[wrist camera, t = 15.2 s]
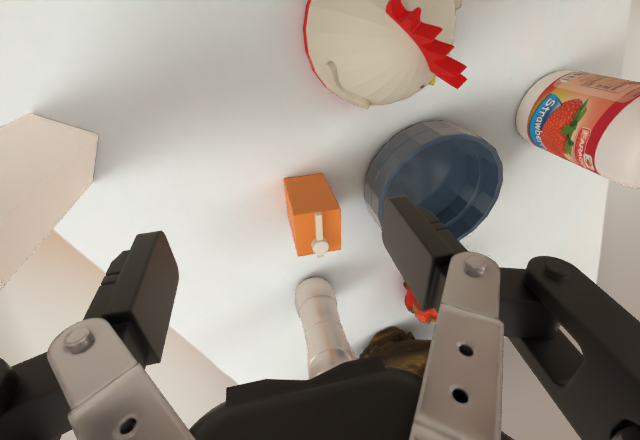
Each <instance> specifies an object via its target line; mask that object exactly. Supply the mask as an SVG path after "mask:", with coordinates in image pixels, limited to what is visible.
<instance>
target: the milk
mask: <svg viewBox="0 0 640 440" xmlns="http://www.w3.org/2000/svg"><path fill="white" fill-rule="evenodd" d="M98 137H99V135H98V134H96V133H92V132H89V131H86V130H82V129H79V128H76V127H73V126H69V125H66V124H63V123H60V122H56V121H53V120H50V119H46V118H43V117H40V116H37V115H33V114H30V113H29V114H26V115H24V116H22V117H20V118H18V119H16V120H14V121H12V122H10V123H8V124H6V125H4V126H2V127H0V290H1V289H2V288H3V287H4V286H5V284H6V283H7V282H8V281H9V280H10V279H11V278H12V276H13V275H14V274H15V273H16V272H17V270H18V269H19V268H20V267H21V266H22V265H23V264H24V262H25V261H26V260H27V259H28V258H29V257H30V255H31V254H32V253H33V252H34V251H35V250H36V248H37V247H38V246H39V245H40V244H41V242H42V241H43V240H44V239H45V238H46V237H47V236H48V234H49V233H50V232H51V231H52V230H53V228H54V227H55V226H56V225H57V224H58V223H59V221H60V220H61V219H62V218H63V217H64V216H65V214H66V213H67V212H68V211H69V210H70V209H71V207H72V206H73V205H74V204H75V203H76V202H77V200H78V199H79V198H80V197H81V196H82V195H83V193H84V192H85V191H86V190H87V189H88V188H89V186H90V185H91V184H92V182H93V174H94V167H95V159H96V152H97V144H98Z"/></svg>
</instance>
